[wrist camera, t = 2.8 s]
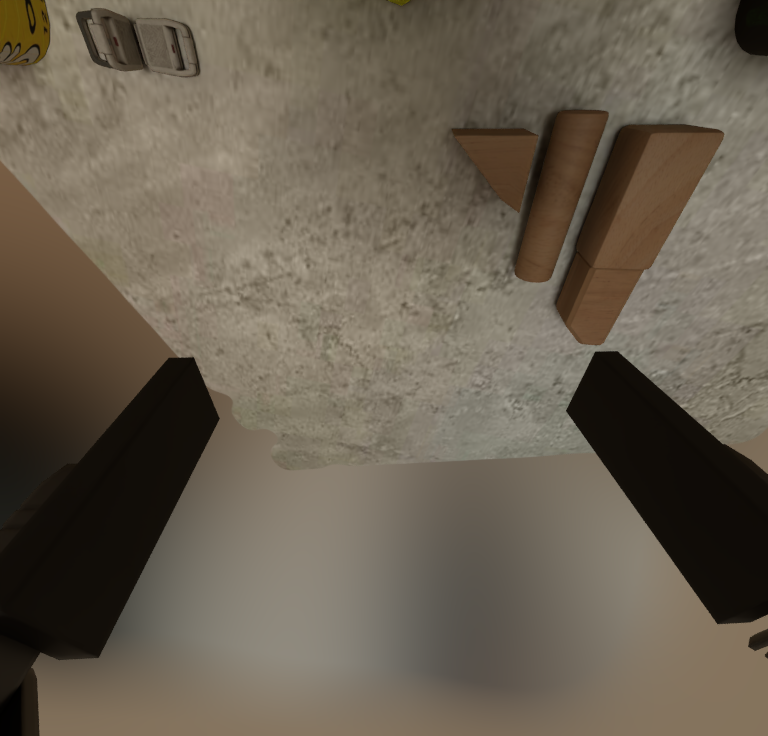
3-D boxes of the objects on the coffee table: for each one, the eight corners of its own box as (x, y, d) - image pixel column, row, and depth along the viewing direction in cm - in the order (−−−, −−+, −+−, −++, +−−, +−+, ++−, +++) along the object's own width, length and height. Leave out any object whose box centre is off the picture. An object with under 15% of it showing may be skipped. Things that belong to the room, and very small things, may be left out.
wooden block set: (754, 113, 18) (611, 354, 30) (694, 108, 23) (589, 322, 34) (456, 115, 20) (432, 343, 32) (453, 110, 24) (432, 313, 36)
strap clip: (191, 22, 23) (151, 11, 20) (203, 78, 25) (169, 77, 22) (78, 10, 23) (21, -3, 20) (99, 66, 25) (50, 63, 22)
